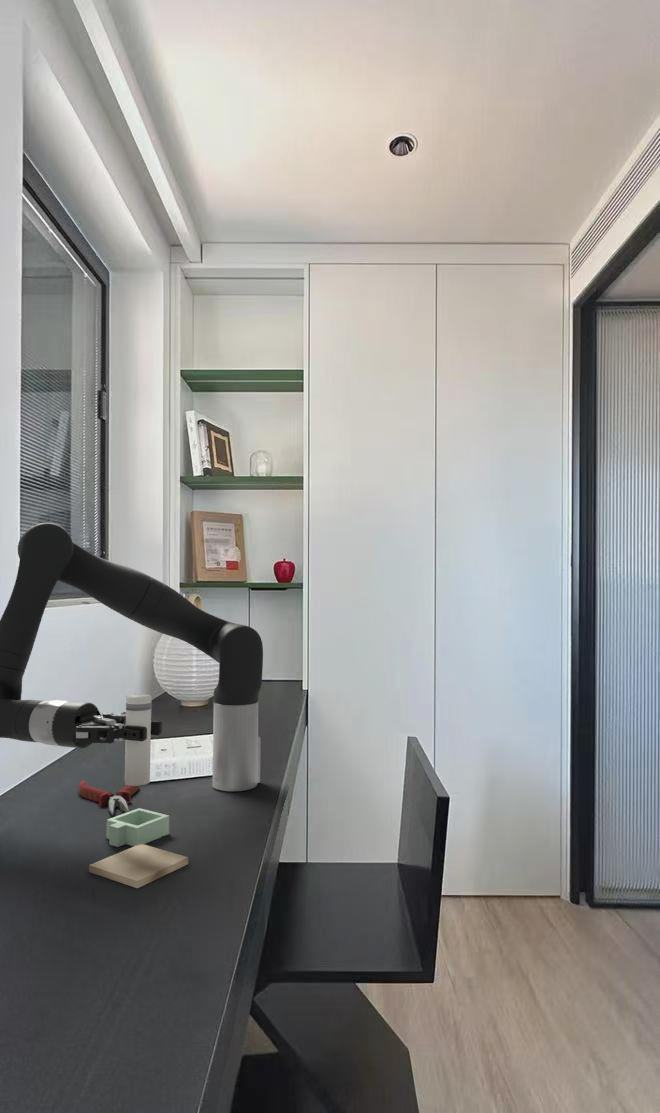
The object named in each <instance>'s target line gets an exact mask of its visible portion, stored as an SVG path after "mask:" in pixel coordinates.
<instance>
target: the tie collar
mask: <svg viewBox="0 0 660 1113" xmlns="http://www.w3.org/2000/svg"><path fill="white" fill-rule="evenodd" d="M105 833H106V837H105V838H106V839H107V840H109V842H108V845H110V846H112V847H116V848H119V847H121V846H124V845H129V846H131V847H134V846H137V845H139V844H144V845H147V844H148V843H150V842H153V841H155V840H159V839H161V838H162V836H163V837H165V836H168V835H169V834H170V815H168V814H165V813H160V812H157V811H152V810H148V809H145V808H141V807H140V808H136V809H132V810H129V812H124V813H122V814H119V815H116V816H114V817H113V816H112V817H111V818H107V819H106V832H105Z"/></svg>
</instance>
